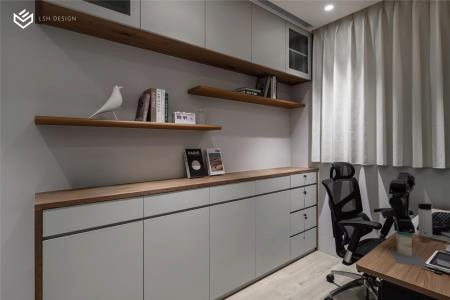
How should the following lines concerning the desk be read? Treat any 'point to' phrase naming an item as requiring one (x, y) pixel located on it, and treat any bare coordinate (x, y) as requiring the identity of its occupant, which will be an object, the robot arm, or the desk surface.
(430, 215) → the travel mug
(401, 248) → the ash block
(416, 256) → the mat
